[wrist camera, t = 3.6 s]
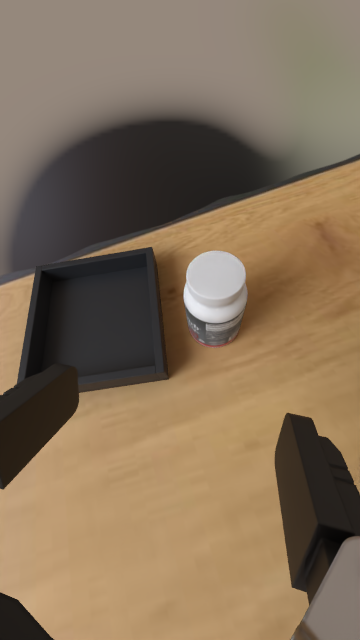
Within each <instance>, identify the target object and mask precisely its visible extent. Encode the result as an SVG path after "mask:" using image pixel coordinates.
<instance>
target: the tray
mask: <svg viewBox="0 0 360 640" xmlns="http://www.w3.org/2000/svg"><path fill="white" fill-rule="evenodd" d="M55 363H60V364H64V365H69V366H74V367H76V369H77V372H78V389H79V393H80V392H87V391H94V390H100V389H107V388H114V387H120V386H127V385H134V384H140V383H147V382H154V381H160V380H167V379H169V377H168V368H167V358H166V349H165V339H164V330H163V320H162V310H161V301H160V291H159V282H158V272H157V263H156V259H155V256H154V252H153V249H152V247H149V248H143V249H137V250H131V251H125V252H120V253H114V254H108V255H102V256H96V257H90V258H84V259H78V260H72V261H66V262H60V263H54V264H48V265H43V266H37V267H36V271H35V277H34V283H33V289H32V295H31V301H30V307H29V313H28V319H27V325H26V331H25V337H24V343H23V349H22V355H21V362H20V368H19V374H18V380H17V384H18V383H20V382H21V381H23V380H24V379H26V378H28V377H30V376H33V375H36V374H38V373H42V372H43V371H44V370H46V369H47V368H49V367H50V366H52V365H53V364H55Z"/></svg>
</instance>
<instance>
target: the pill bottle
mask: <svg viewBox="0 0 360 640" xmlns="http://www.w3.org/2000/svg"><path fill="white" fill-rule="evenodd" d="M186 278H187V282H186V285H185V288H184V304H185V310H186V316H187V322H188V328H189V331H190V333H191V335H192V337H193V338H194V339H195V340H196V341H197V342H198V343H200V344H201V345H203V346H206V347H211V348H217V347H222V346H225V345H227V344H229V343H230V342H231V341H233V340H234V338H235V337H236V336H237V334H238V332H239V329H240V325H241V321H242V318H243V314H244V310H245V307H246V303H247V296H248V292H247V287H246V284H245V280H246V271H245V268H244V265H243V264H242V262H241V261H240V260H239V259H238V258H237V257H235V256H234V255H232V254H230V253H227V252H224V251H209V252H205V253H203V254H201V255H199V256H197V257H196V258H194V260H193V261H192V262H191V263H190V265H189V267H188V269H187V274H186Z"/></svg>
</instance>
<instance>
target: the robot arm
mask: <svg viewBox="0 0 360 640" xmlns="http://www.w3.org/2000/svg"><path fill="white" fill-rule="evenodd" d="M78 403H79V389H78V372H77V369H76V367H74V366H69V365H64V364H60V363H55V364H53V365H52V366H50V367H49V368H47V369H46V370H44V371H43V372H42V373H38V374H36V375H33V376H30V377H28V378H26V379H24V380H23V381H21V382H20V383H18V384H17V385H15V386H14V388H11V389H9V390H8V391H6V392H5V393H4V394H3V395H0V489H4V488H5V487H6V486H7V485H8V484H9V483H10V482H11V481H12V480H13V479H14V478H15V477H16V476H17V474H18V473H19V472H20V471H21V470H22V469H23V468H24V467H25V466H26V465H27V464H28V463H29V462H30V461H31V459H32V458H33V457H34V456H35V455H36V454H37V453H38V452H39V451H40V450H41V449H42V448H43V447H44V446H45V444H46V443H47V442H48V441H49V440H50V439H51V438H52V437H53V436H54V435H55V434H56V433H57V432H58V431H59V429H60V428H61V427H62V426H63V425H64V424H65V423H66V422H67V421H68V420H69V419H70V418H71V417H72V416H73V414H74V413H75V411H76V409H77V407H78ZM275 471H276V478H277V485H278V492H279V499H280V506H281V513H282V520H283V528H284V535H285V542H286V549H287V556H288V563H289V570H290V577H291V585H292V588H295V589H298V590H301V591H304V592H307V595H308V601H309V608H308V610H307V611H306V613H305V615H304V617H303V619H302V621H301V623H300V624H299V625H298V627H297V628H296V630H295V632H294V634H293V636H292V637H291V639H290V640H360V494H359V492H358V490H357V487H356V485H354V481H353V479H352V476H351V474H350V472H349V471H348V467H347V465H346V463H345V461H344V459H343V456H342V454H341V452H340V451H339V450H338V449H337V448H336V446H335V445H334V444H333V443H332V442H331V441H330V440H329V439H328V438H326V437H322V436H318V433H317V430H316V428H315V425H314V422H313V420H312V419H311V418H309V417H304V416H300V415H295V414H290V413H287V414H286V415H285V418H284V421H283V424H282V428H281V432H280V435H279V439H278V442H277V446H276V451H275ZM0 640H54V639H53V638H51V637H50V636H49V634H48V633H47V632H46V631H45V630H44V629H43V628H42V627H41V625H40V624H39V623H38V622H37V621H36V620H35V619H34V618H33V616H32V615H31V614H30V613H29V612H28V611H27V610H26V609H25V607H24V606H23V605H22V604H21V603H20V602H19V601H18V600H17V599H15V598H12V597H10V596H8V595H5V594H3V593H0Z"/></svg>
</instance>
